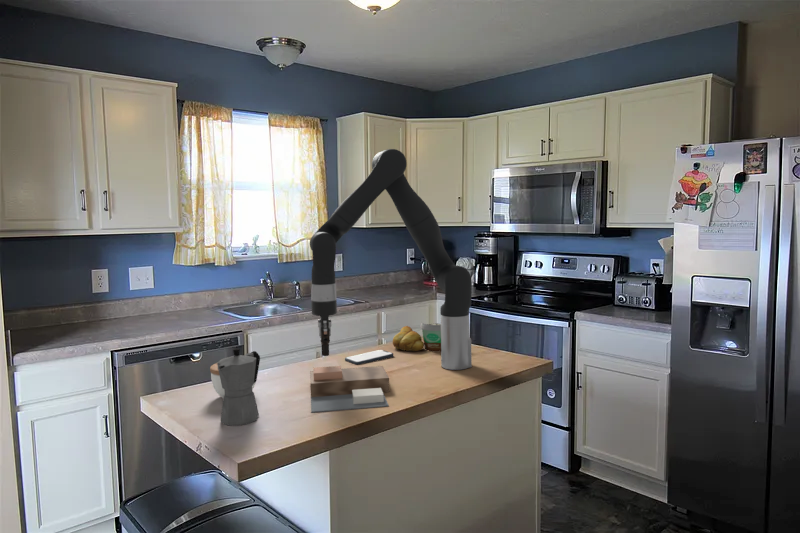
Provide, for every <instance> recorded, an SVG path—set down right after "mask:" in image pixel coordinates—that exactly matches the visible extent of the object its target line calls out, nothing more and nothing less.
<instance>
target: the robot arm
mask: <svg viewBox="0 0 800 533" xmlns="http://www.w3.org/2000/svg"><path fill="white" fill-rule="evenodd" d="M372 158H373V159H372V162H371V168H372V170H371V172H370V173H369V174H368V176H367V177H366V178H365V179H364V181H363V182H362V183H361V184H360V185H359V186H357V188H356V189H355V190H353V191H352V192H351V194H349V195H348V196H347V197H346V198H345V199H344V200H343V201H342V202H341V203H340V204H339V206H338V207H337V208H336V209H335V210H334V212H333V213H331V215H330V217H329V218H328V219H327V220H326V221H325V222H324V224H322V225H321V226H320V227H319V228H318V229H317V230H316V232H315V233H313V235H312V236H311V238H310V241H309V247H310V249H311V251H312V267H311V291H310V292H311V293H310V297H311V298H310V299H311V301H310V302H311V315H313V316H316V317H319V316H320V319H317V325H318V326H317V327H318V333H319V338H320V344H321V346H320V348H321V356H322V357H329V356H330V342H331V340H330V339H331V338H330V337H331V335H332V334H331V333H332V331H331V330H332V328H331V327H332V319H329V318H330V316H335V315H337V313H338V307H337V306H338V304H337V303H338V302H337V301H338V300H337V285H336V268H335V267H336V266H335V265H336V257H337V255H336V254H337V252H336V251H337V249H336V248H337V247H336V246H337V245H336V244H337V243H338V242H339V240H340V239H341V238H342V237H343V236H344V235H345V234H347V233H349V231H350V230H352V228H353V227H354V226H355V224H357V222H358V221H359V220H360V219H361V217H362V216H363V215H364V213H365V212H366V211H367V210H368V209H369V207H370V206H371V205H372V204H373V202H374V201H376V199H377V198H378V197H379V196H380V195H381V194H382V193H383V192H384V191H386V192H387V194H388V195H389V197H390V199H391V200H392V202H393V203H394V206H395V208H396V210H397V212H398V214H399V216H400V217H401V219H402V221H403V223H404V225H405V227H406V229H407V231H408V232H409V234H410V236H411V238H412V239H413V241H414V242H415V244H416V246H417V247H418V249H419V251H420V252H421V254H422V255H423V257H424V258H425V261H426V262H427V265H428V267H429V268H430V271H431V273H432V275H433V277H434V280H435V283H436V285H437V286H438V288H439V289H440V290H442V291H443V292H444V302H443V304H442V305H441V306H440V308H439V309H440V312H439V313H440V314H439V315H440V324H441V351H440V354H441V355H440V356H441V358H440V361H441V362H440V363H441V367H442V368H443V369H446V370H453V371H455V370H456V371H457V370H458V371H459V370H465V369H469V368H472V367H473V366H472V338H471V337H470V308H471V306H472V290H473V288H472V287H473V285H472V284H473V283H472V276H471V273H470V271H469V270H468V269H467V268H466V267H464V266H461V265H456V264H455V263H454V262H453V261H452V258H450V255H449V254H448V252H447V250H446V249H445V245H444V243H443V242H444V241H443V238H442V237H443V236H442V231H441V228H440V225H439V223H438V222H437V219H436V218H435V216H434V214H433V213H432V210H431V209H430V207H429V206H428V204H426V202H425V201H424V200H423V199H422V198H421V197H420V196H419V195H418V193H417V192H416V191H415V190H414V189H413V187H412V186H411V185H410V183H409V181H408V179H407V177H406V176H405V171H406V170H407V165H408V164H407V163H408V162H407V159H406V155H405V154H404V153H403V152H402V151H400V150H399V149H395V148H389V149H388V148H387V149H384V150H381V151H379V152H377V153H376V154H375V155H374V156H373V157H372Z"/></svg>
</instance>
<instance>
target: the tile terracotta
mask: <svg viewBox="0 0 800 533" xmlns="http://www.w3.org/2000/svg"><path fill="white" fill-rule="evenodd" d="M312 369H313V370H312V371H313V372H314V380H324V379H338V378H342V369H343V368H342V366H341V365H335V366H333V365H331V366H318V367H316V366H315V367H313V368H312Z"/></svg>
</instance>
